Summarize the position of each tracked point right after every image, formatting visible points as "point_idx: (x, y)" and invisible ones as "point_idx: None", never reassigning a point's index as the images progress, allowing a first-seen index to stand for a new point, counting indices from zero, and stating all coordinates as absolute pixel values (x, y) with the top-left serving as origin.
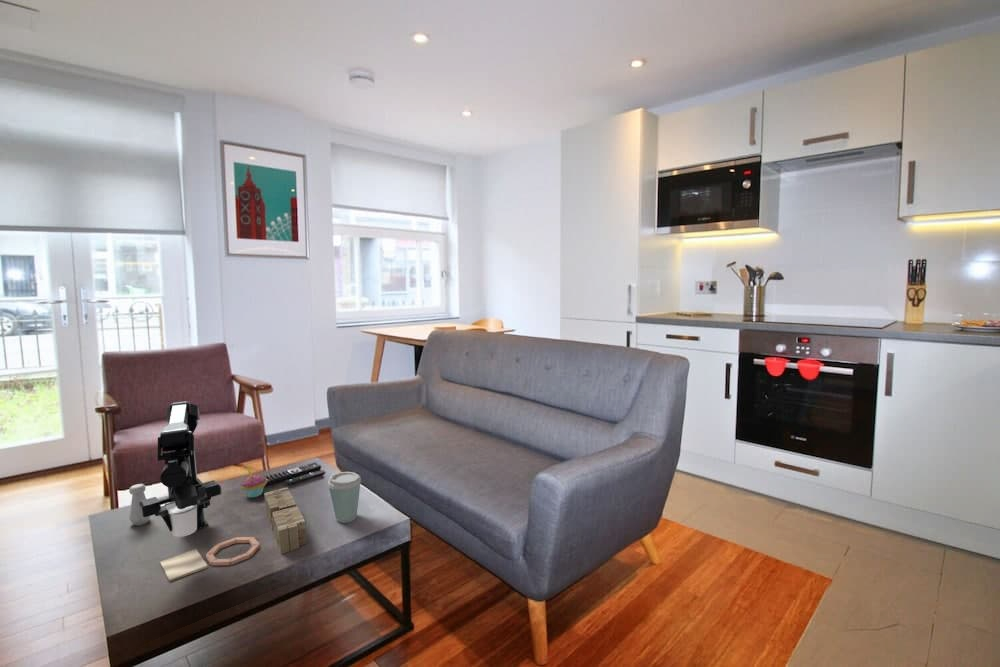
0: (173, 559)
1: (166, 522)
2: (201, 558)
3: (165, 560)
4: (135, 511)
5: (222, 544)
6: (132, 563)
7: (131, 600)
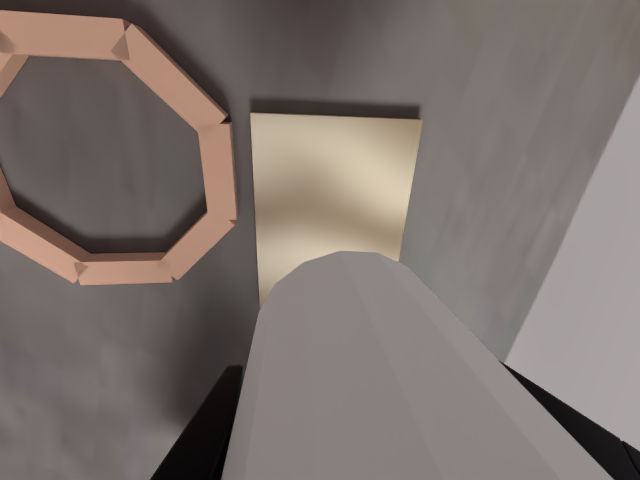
0: None
1: (618, 441)
2: (259, 209)
3: None
4: None
5: (149, 262)
6: None
7: (568, 90)
